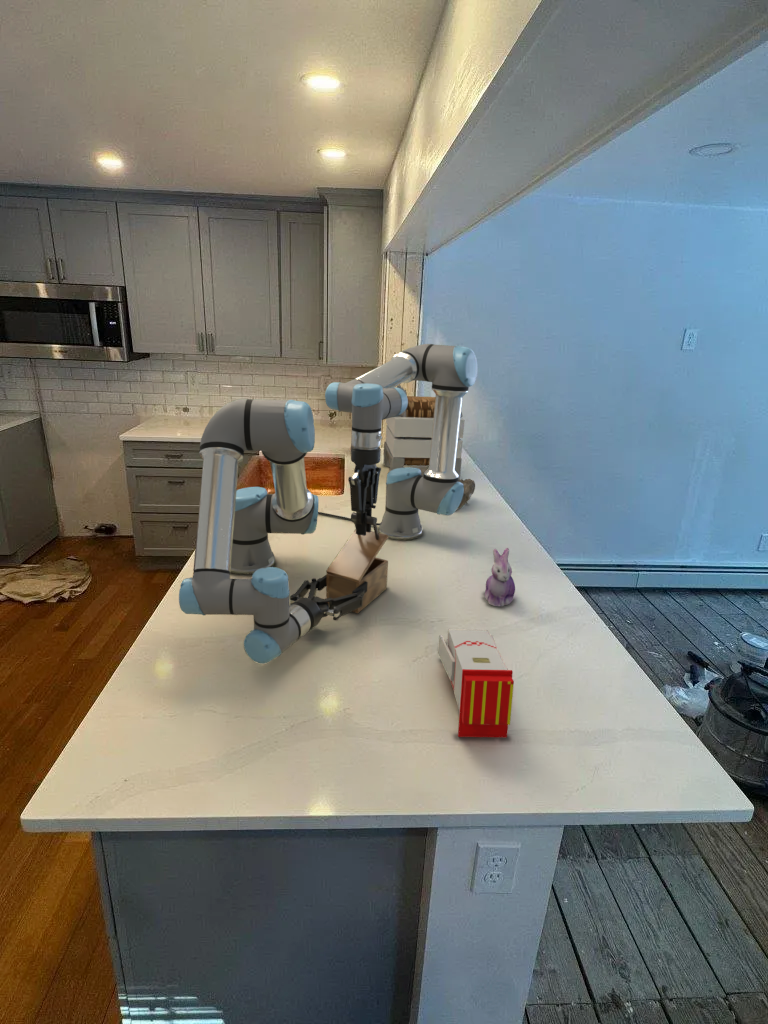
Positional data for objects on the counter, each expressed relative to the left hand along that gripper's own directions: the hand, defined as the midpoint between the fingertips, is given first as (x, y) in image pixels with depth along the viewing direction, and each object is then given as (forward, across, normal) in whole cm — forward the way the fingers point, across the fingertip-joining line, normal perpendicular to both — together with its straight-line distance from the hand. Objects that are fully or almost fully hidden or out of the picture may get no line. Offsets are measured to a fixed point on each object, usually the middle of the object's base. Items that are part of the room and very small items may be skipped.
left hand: (348, 581), depth 149 cm
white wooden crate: (+128, -37, -6) cm, 134 cm away
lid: (+5, 0, +6) cm, 7 cm away
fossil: (+96, -5, -6) cm, 96 cm away
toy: (-19, +41, -7) cm, 45 cm away
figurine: (+24, +34, -7) cm, 42 cm away
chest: (+5, 0, -7) cm, 8 cm away
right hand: (+7, 0, +12) cm, 13 cm away
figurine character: (+147, -83, -6) cm, 169 cm away
